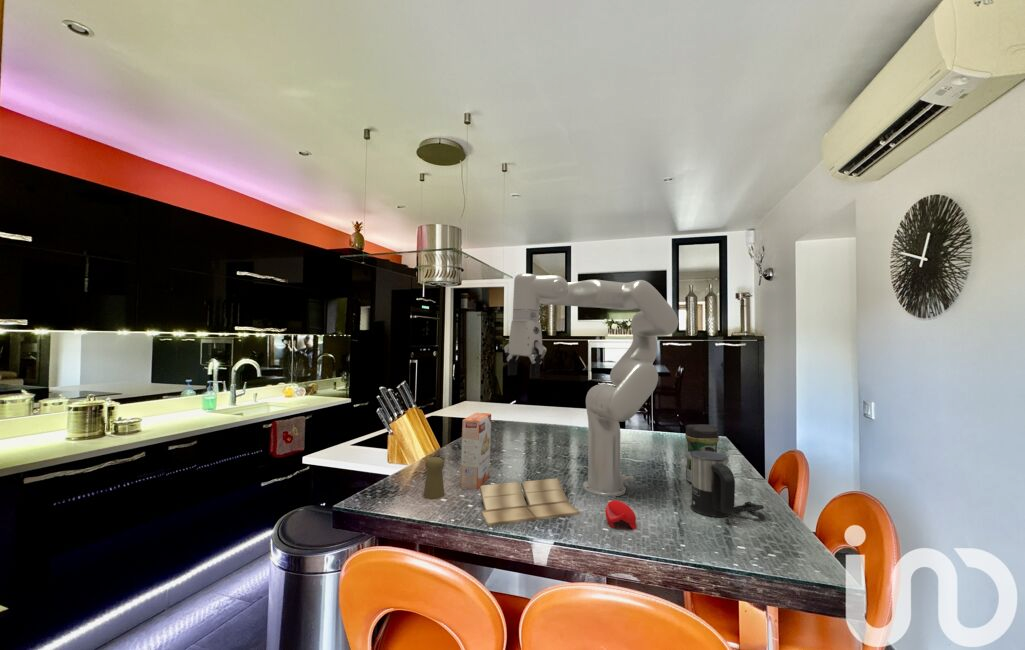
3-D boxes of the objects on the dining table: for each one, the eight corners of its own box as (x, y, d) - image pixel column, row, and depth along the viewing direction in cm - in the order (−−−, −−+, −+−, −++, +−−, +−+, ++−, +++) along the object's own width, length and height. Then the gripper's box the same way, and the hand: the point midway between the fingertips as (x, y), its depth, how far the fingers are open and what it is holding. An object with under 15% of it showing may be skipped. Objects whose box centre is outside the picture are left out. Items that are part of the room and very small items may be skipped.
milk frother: (682, 506, 110) (682, 451, 111) (723, 498, 116) (722, 446, 117) (728, 528, 97) (727, 466, 98) (771, 518, 103) (771, 459, 104)
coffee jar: (710, 478, 133) (710, 422, 134) (723, 487, 125) (723, 427, 126) (681, 478, 133) (681, 422, 134) (693, 487, 125) (692, 427, 126)
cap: (599, 516, 95) (620, 507, 93) (602, 499, 101) (623, 490, 98) (619, 542, 96) (641, 534, 93) (621, 524, 101) (642, 516, 98)
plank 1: (517, 485, 114) (518, 481, 113) (525, 508, 107) (526, 505, 106) (479, 488, 110) (480, 485, 110) (485, 513, 103) (486, 509, 103)
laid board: (567, 505, 109) (567, 500, 109) (579, 516, 102) (579, 511, 102) (481, 515, 102) (481, 510, 102) (488, 528, 95) (488, 522, 95)
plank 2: (556, 481, 117) (557, 478, 117) (567, 503, 110) (568, 500, 110) (521, 484, 114) (521, 481, 113) (529, 508, 107) (530, 504, 107)
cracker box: (479, 492, 118) (480, 420, 119) (459, 490, 120) (460, 419, 120) (491, 476, 132) (492, 412, 133) (473, 475, 133) (474, 411, 134)
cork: (448, 495, 115) (449, 456, 116) (436, 502, 110) (437, 462, 110) (431, 491, 118) (432, 453, 118) (418, 499, 112) (419, 459, 113)
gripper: (556, 317, 111) (553, 379, 110) (516, 319, 125) (514, 374, 124) (536, 314, 107) (533, 379, 106) (497, 317, 120) (494, 374, 119)
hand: (523, 376), depth 115 cm, fingers open, 9 cm apart
